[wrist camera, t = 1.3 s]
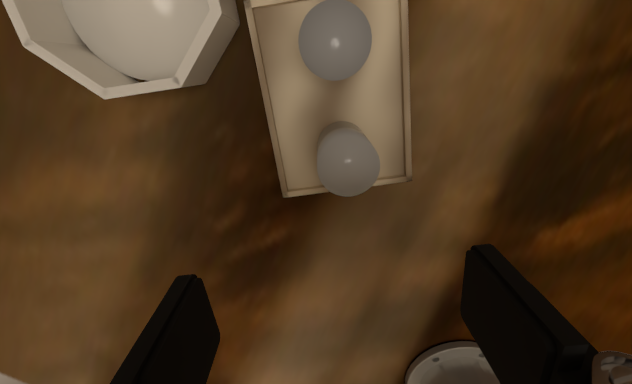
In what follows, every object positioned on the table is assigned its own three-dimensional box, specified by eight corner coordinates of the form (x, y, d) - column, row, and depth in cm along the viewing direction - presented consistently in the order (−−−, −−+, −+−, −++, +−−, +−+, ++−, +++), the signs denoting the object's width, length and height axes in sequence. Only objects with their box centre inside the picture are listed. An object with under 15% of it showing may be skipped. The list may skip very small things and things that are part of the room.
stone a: (364, 117, 26) (378, 132, 20) (368, 165, 28) (382, 192, 22) (313, 124, 26) (312, 141, 20) (320, 172, 28) (321, 200, 22)
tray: (403, -23, 23) (407, -27, 22) (408, 177, 29) (411, 180, 28) (246, 3, 23) (243, 0, 22) (284, 193, 29) (283, 197, 28)
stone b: (355, 12, 23) (368, -8, 17) (360, 73, 25) (374, 75, 19) (298, 21, 23) (292, 5, 17) (307, 81, 25) (304, 85, 19)
